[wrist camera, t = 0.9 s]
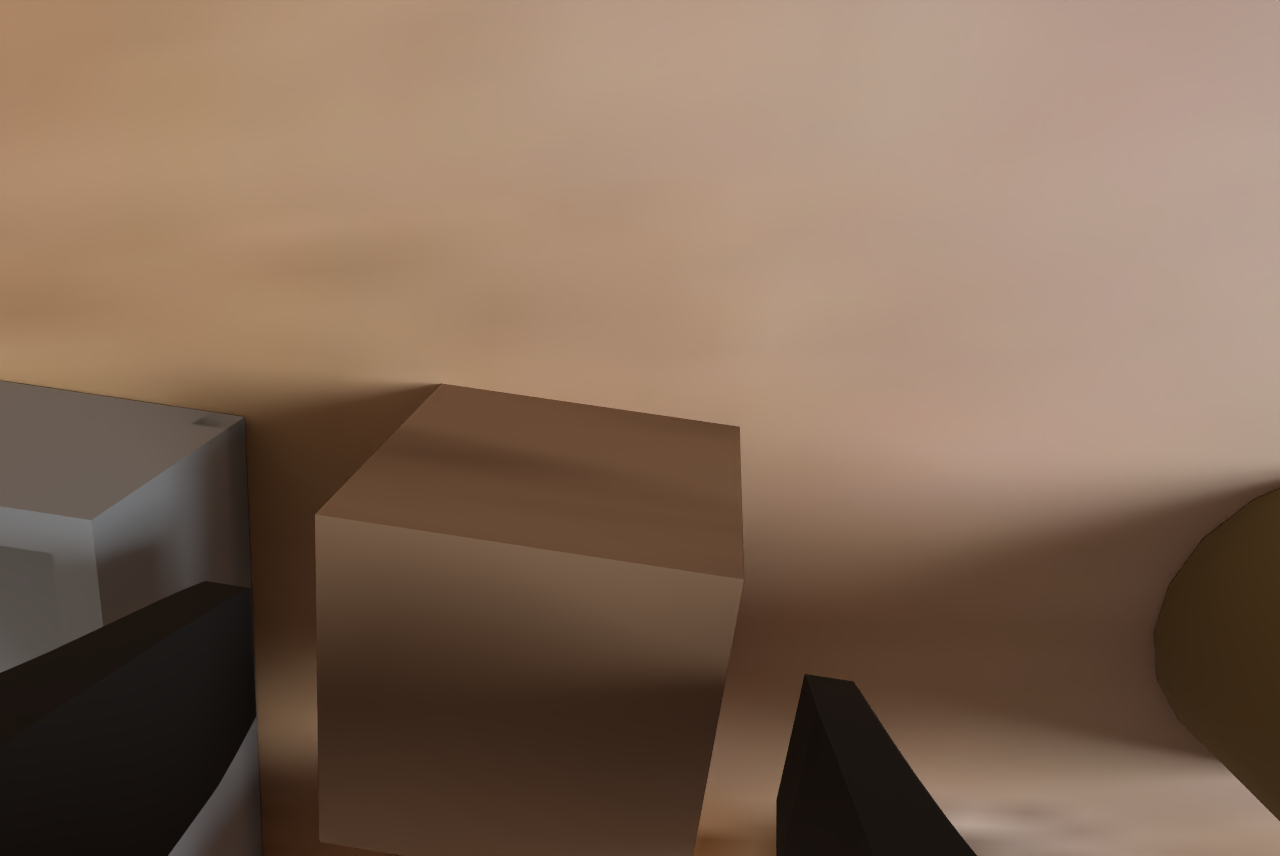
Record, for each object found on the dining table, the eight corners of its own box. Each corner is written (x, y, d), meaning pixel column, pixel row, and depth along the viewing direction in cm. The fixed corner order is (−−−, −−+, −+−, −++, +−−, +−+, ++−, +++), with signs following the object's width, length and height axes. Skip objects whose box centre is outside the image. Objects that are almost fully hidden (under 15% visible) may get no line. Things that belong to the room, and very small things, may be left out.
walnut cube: (696, 675, 17) (684, 903, 12) (432, 633, 17) (319, 841, 12) (739, 424, 15) (744, 579, 10) (442, 381, 15) (315, 513, 10)
